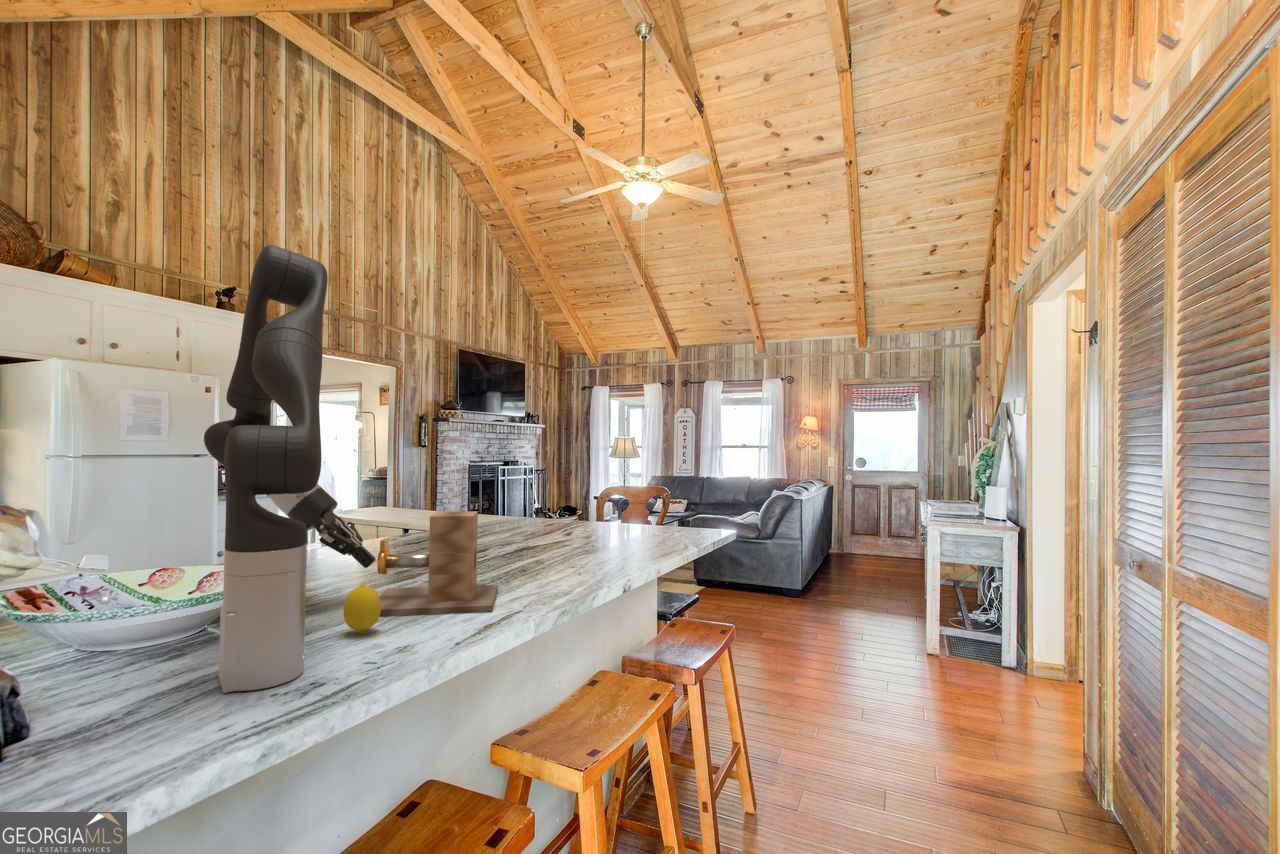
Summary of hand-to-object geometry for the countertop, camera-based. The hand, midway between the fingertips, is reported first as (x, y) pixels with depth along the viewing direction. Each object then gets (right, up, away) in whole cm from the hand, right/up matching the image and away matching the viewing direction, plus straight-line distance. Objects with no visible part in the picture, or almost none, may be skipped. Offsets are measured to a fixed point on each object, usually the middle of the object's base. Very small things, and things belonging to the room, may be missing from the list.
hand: (371, 563), depth 111 cm
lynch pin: (+8, -2, +1) cm, 8 cm away
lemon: (+6, -8, -17) cm, 19 cm away
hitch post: (+12, -8, +2) cm, 15 cm away
